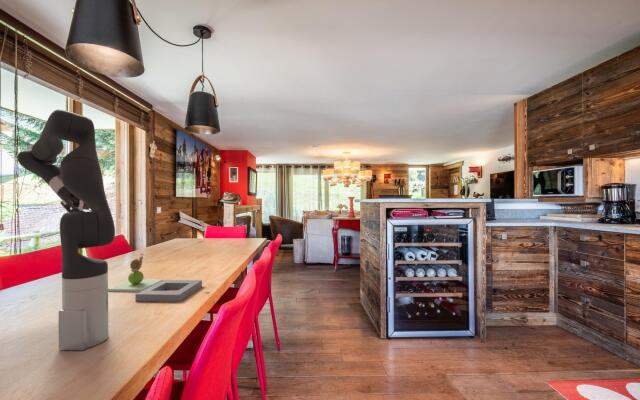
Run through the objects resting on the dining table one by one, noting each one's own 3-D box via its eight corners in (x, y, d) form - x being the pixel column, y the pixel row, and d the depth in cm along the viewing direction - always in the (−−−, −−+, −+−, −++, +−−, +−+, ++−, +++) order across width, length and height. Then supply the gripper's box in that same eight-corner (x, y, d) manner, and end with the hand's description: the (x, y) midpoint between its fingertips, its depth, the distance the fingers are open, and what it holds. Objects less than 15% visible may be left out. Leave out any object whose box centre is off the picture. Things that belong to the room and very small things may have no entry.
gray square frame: (179, 301, 104) (179, 294, 104) (135, 301, 105) (135, 294, 105) (202, 286, 122) (202, 280, 122) (164, 285, 123) (164, 279, 123)
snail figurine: (148, 281, 125) (148, 253, 125) (137, 286, 119) (136, 256, 119) (136, 281, 126) (136, 253, 126) (124, 285, 120) (124, 256, 120)
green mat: (142, 291, 115) (142, 289, 115) (107, 291, 116) (107, 289, 116) (163, 281, 129) (163, 279, 129) (132, 281, 130) (131, 279, 130)
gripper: (56, 180, 103) (88, 213, 103) (90, 182, 118) (118, 211, 117) (42, 195, 104) (74, 228, 103) (77, 196, 118) (105, 224, 118)
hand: (97, 219), depth 110 cm, fingers open, 8 cm apart
